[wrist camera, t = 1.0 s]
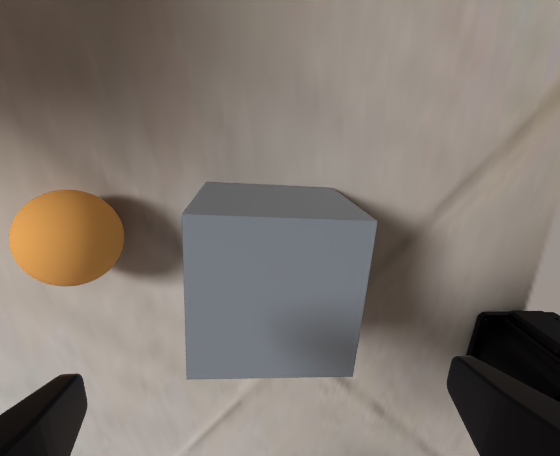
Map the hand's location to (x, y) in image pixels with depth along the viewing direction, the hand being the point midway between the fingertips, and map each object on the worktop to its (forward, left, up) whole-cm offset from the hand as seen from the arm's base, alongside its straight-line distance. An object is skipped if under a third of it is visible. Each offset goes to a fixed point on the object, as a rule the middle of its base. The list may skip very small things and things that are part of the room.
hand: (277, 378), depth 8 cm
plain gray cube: (-1, -1, -13) cm, 13 cm away
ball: (0, +10, -11) cm, 15 cm away
